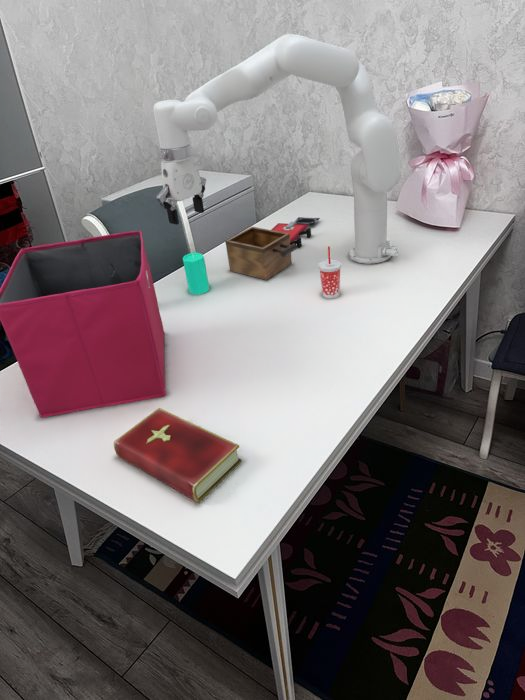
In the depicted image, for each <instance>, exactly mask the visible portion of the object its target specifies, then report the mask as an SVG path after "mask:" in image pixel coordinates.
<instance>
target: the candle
mask: <svg viewBox="0 0 525 700" xmlns="http://www.w3.org/2000/svg"><path fill="white" fill-rule="evenodd" d="M182 263H183V267H184V272H185V277H186V283H187V288H188V292H189V293H190V294H191V295H203V294H206V293H207V292H209V290H210V284H209V278H208V272H207V267H206V261H205V255H204V254H202V253H200V252H194V251H191V252H190V253H187V254H185V255H184V256H183V257H182Z"/></svg>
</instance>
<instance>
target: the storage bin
mask: <svg viewBox="0 0 525 700" xmlns="http://www.w3.org/2000/svg"><path fill="white" fill-rule="evenodd" d="M143 239H144V237H143V233H142V231H141V230H134V231H133V230H132V231H131V230H130V231H124V232H117V233H112V234H111V233H110V234H104V235H98V236H92V237H87V238H82V239H75V240H70V241H61V242H56V243H50V244H41V245H36V246H35V245H34V246H31V247H23V248H20V250H19V252H18V253H17V255H16V256H15V258H14V260H13V262H12V264H11V267H10V268H9V271H8V272H7V274H6V276H5V279H4V281H3V283H2V284H1V287H0V322H1V326H2V327H3V329H4V330H3V331H4V332H5V334H6V337H7V339H8V342H9V345H10V347H11V349H12V351H13V354H14V356H15V359H16V361H17V363H18V366H19V369H20V371H21V373H22V376H23V378H24V381H25V383H26V386H27V389H28V391H29V393H30V397H31V398H32V400H33V403H34V405H35V408H36V410H37V411H38V414H39V415H38V416H39V418H40V419H41V418H48V417H53V416H58V415H64V414H70V413H74V412H79V411H81V412H82V411H86V410H92V409H97V408H104V407H110V406H116V405H123V404H130V403H135V402H140V401H141V402H142V401H146V400H151V399H158V398H163V397H165V396H167V391H166V369H165V368H166V367H165V338H166V333H165V330H164V325H163V320H162V317H161V313H160V308H159V303H158V297H157V294H156V289H155V284H154V281H153V276H152V272H151V271H152V270H151V267H150V264H149V261H148V258H147V257H148V256H147V253H146V248H145V243H144V240H143Z"/></svg>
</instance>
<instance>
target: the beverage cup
mask: <svg viewBox="0 0 525 700" xmlns="http://www.w3.org/2000/svg"><path fill="white" fill-rule="evenodd" d="M327 256H328V259H326V260H322V261H320V262H319V263H318V264H317V266H318V267H317V268H318V270H319V276H320V277H319V278H320V284H321V292H322V297H323V298H325V299H330V300H331V299H336V298H338V297H340V288H341V268H342V262H340V261H339V260H337V259H331V246H327Z"/></svg>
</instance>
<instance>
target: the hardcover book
mask: <svg viewBox="0 0 525 700" xmlns="http://www.w3.org/2000/svg"><path fill="white" fill-rule="evenodd" d="M239 448H240V445H239V444H237V443H235V442H233V441H231V440H229V439H227V438H225V437H223V436H221V435H218V434H216V433H213V432H212V431H209V430H207V429H205V428H203V427H201V426H199V425H197V424H195V423H192V422H191V421H188V420H186V419H184V418H182V417H180V416H178V415H175V414H174V413H171V412H169V411H167V410H165V409H162V408H161V407H158V408H157V409H155V410H154V411H152V412H151V413H150V414H149V415H147V416H146V417H144V418H143V419H142V420H140V422H138V423H137V424H135V425H134V426H133V427H132V428H130V429H129V430H127V431H126V432H125V433H123V434H122V435H121V436H120V437H118V438H116V440H114V441H113V449H114V452H115V455H116V456H117V457H118V458H120V459H122V460H123V461H125V462H127V463H129V464H130V465H132V466H134V467H135V468H138V469H139V470H141V471H142V472H144V473H146V474H148V475H149V476H151V477H153V478H154V479H156V480H158V481H160V482H162V483H164V484H165V485H167V486H169V487H170V488H172V489H174V490H176V491H177V492H179V493H180V494H181V495H184V496H186V497H188V498H189V499H191V500H193V501H194V502H196V503H198V504H199V503H201V502H202V500H204V499H205V498H206V496H208V495H209V494H210V493H211V492H212V491H213V490H214V489H215V488H216V487H217V486H218V485H220V483H221V482H223V480H224V479H225V478H227V476H228V475H229V474H230V473H232V472H233V471H234V470H235V469H236V468H237V467H238V466H239V465H240V464H241V463H242V462H243V461H242V459H241V458H239V454H238V449H239Z"/></svg>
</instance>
